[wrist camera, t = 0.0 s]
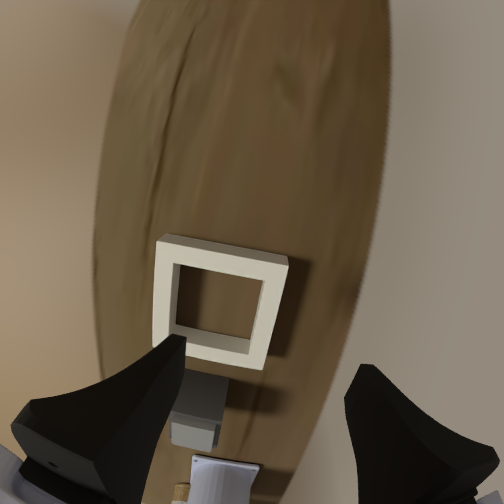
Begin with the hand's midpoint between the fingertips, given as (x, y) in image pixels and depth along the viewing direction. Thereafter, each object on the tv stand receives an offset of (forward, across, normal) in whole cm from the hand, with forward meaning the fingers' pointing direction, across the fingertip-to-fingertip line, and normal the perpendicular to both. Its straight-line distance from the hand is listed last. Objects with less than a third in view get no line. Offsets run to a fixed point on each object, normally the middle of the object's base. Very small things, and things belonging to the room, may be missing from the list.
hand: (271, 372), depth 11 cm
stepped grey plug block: (+10, +4, +12) cm, 16 cm away
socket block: (+10, +4, +2) cm, 11 cm away
